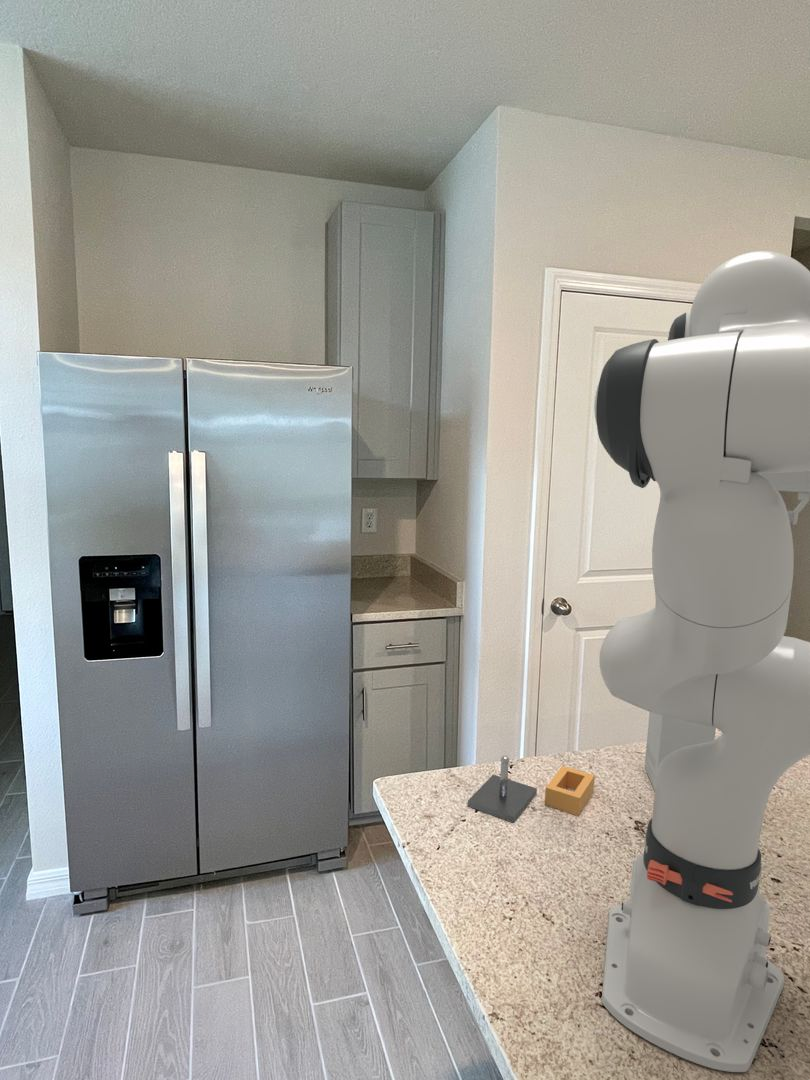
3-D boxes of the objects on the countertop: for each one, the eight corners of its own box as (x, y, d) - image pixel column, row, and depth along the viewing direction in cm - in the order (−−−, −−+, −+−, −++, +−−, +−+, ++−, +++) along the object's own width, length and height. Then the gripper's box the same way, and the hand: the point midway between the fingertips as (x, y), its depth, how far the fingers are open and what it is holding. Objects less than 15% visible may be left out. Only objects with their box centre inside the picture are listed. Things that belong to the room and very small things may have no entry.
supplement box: (710, 798, 108) (719, 714, 106) (654, 792, 109) (662, 709, 107) (694, 771, 117) (703, 693, 115) (643, 766, 118) (650, 689, 116)
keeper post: (513, 822, 99) (516, 776, 98) (467, 806, 103) (469, 761, 102) (536, 793, 108) (539, 751, 107) (492, 779, 112) (495, 738, 111)
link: (578, 815, 102) (579, 798, 101) (544, 804, 105) (545, 787, 104) (593, 791, 109) (594, 775, 109) (561, 781, 112) (562, 765, 111)
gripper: (683, 423, 94) (674, 516, 97) (850, 425, 84) (836, 529, 86) (689, 424, 100) (681, 513, 102) (848, 426, 89) (834, 525, 91)
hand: (753, 520), depth 94 cm, fingers open, 8 cm apart
